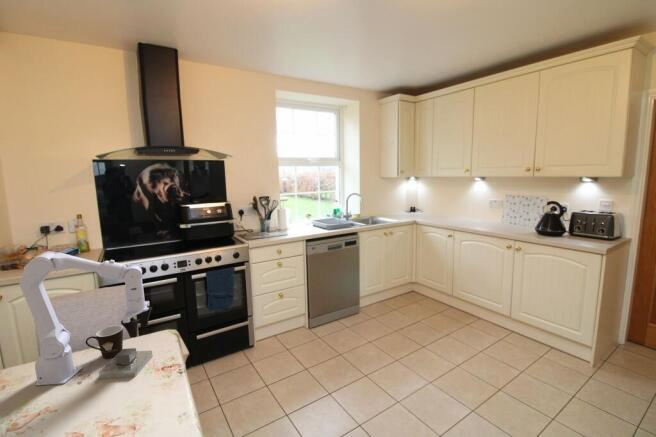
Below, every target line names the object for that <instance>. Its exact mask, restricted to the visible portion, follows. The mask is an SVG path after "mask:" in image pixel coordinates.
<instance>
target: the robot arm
mask: <svg viewBox="0 0 656 437" xmlns="http://www.w3.org/2000/svg"><path fill="white" fill-rule="evenodd" d="M66 269H77V270H83V271H87V272H88V271H89V272H94V273H97V274H98V275H99V277H101V278H106V279H107V278H108V279H112V280H116V281H117V280H118V281H122V282H123V283H125V284H124V285H125V288H124V292H125V299H126V309H127V310H126V312H125V314H124V316H123V317H122V320H121V321H120V324H121V326H122V327H123V328H124V329H125V330H126V332H127V334H128V335H129V338H130V339H131V338H137V337H138V326H139V325H140V327H141V328H147V327H148V324H149V319H150V316H151V313H152V310H153V307H152V306H150V301H149V300H145V292H144V284H143V279H142V278H143V277H142V276H143V269H142V268H141V267H140V266H139V265H137V264H129V263H126V264H125V263H121V262H120V263H119V262H115V260H114V259H110V260H105V261H103V262H99V261H96V260H91V259H87V258H83V257H78V256H75V255H71V254H67V253H63V252H55V251H53V250H50V251H49V250H48V251H47V250H46V251H44V252H41V253H40V254H39V255H37V256H36V257H33V258H32V259H30V260H29V262H28V263H26V264H25V265H24V267H23V273H22V274H21V278H20V281H19V287H20V289H21V292H22V294H23V296H24V299H25V301H26V303H27V305H28V308H29V310H30V312H31V314H32V317H33V319H34V322H35V325H36V326H37V328H38V332H39V341H38V342H39V345H40V349H39V354H40V355H39V356H38V358H36V361H35V364H34V370H35V376H36V381H37V382H36V383H35V386H46V385H62V384H63V385H64V384H65V383H68V381H70V379H71V378H72V377H74V376H75V375H76V374H78V373H79V372H80V371H81V370H82V369H81V367H75V365H74V358H73V353H72V347H71V346H70V345H69V343H70V342H71V340H72V334H71V332H70V331H69V330H67V329H66V328H65V326H64V325H63V324H62V323H60V321H59V319H58V317H57V315H56V311H55V309H54V306H53V304H52V302H51V300H50V298H49V295H48V293H47V290H46V288H45V285H44V281H45V279H46V278H47V277H48V276H49V274H50V273H51V272H52V271H53V270H55V272H59V271H62V270H66ZM136 316H137V319H135V317H136Z"/></svg>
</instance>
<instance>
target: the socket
mask: <svg viewBox="0 0 656 437" xmlns="http://www.w3.org/2000/svg"><path fill="white" fill-rule="evenodd" d="M136 353H137V356H136V357H135V358H134V360H133V361H132V362H131V363H130V364H117V361H116V356H115V357H114V358H113V359H110V360H109V362H108V363H107V364H105V365H104V366H103V367H102V368H101V369H100V370H99V371H98V378H99V380H101V379H117V378H134V377H135V378H136V377H137V375H138V374H140V372H141V371H142V370H143V369H144V368H145V366H147V365H148V362H150V360H151V359H152V358H153V356H154V355H153V350H136Z"/></svg>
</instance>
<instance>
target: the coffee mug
mask: <svg viewBox="0 0 656 437" xmlns="http://www.w3.org/2000/svg"><path fill="white" fill-rule="evenodd" d="M123 337H124V326H123V325H119V324H117V325H111V326H107V327H104V328H101V329H100V330H98V331H97V332H96V333H95V336H93V335H92V336H89V337H87V338H86V340H85V345H86V346H87V347H89V348H91V349H94V350H98V351H100V353H101V354H100V355H101V357H102V359H103V360H106V361H107V360H112V359H113V358H114V357H115V356H116V355H117V354H118V353H119V352H120V351H122V350H123V349H124V348H123V347H124V345H123V344H124V343H123V342H124V338H123ZM90 339H94V340H96V341H97V343H98V347H96V346H93V345H91V344H89V342H88V341H89V340H90Z"/></svg>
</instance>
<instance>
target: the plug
mask: <svg viewBox="0 0 656 437" xmlns="http://www.w3.org/2000/svg"><path fill="white" fill-rule="evenodd" d="M136 351H137V348H136V347H132V348H131V347H128V348H123V350H122V351H120V352H119V353H118V354H117V355H116V361H117V364H130V363H131V362H132V361H133V360H134V358H135V357H136V356H137V353H136Z"/></svg>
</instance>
